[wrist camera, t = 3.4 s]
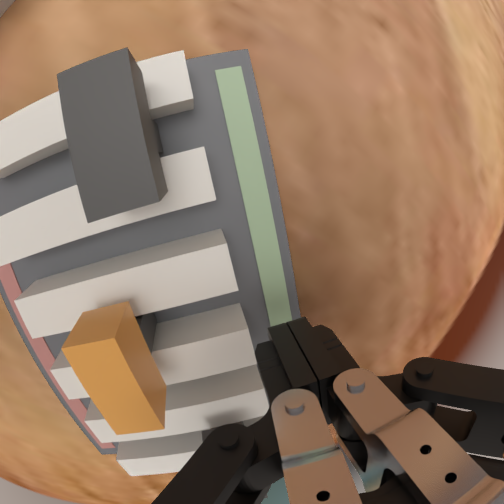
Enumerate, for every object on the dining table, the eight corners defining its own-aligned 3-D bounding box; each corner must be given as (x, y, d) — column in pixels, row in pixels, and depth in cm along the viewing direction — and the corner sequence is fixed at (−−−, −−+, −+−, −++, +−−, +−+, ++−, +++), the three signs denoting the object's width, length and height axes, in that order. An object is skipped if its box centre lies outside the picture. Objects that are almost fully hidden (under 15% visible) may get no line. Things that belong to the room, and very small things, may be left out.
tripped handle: (134, 351, 18) (116, 435, 11) (103, 279, 16) (61, 348, 10) (169, 343, 18) (164, 429, 11) (141, 269, 16) (114, 338, 10)
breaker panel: (106, 431, 23) (92, 520, 14) (-15, 153, 15) (-115, 165, 5) (303, 390, 25) (347, 480, 16) (239, 64, 17) (284, -16, 7)
